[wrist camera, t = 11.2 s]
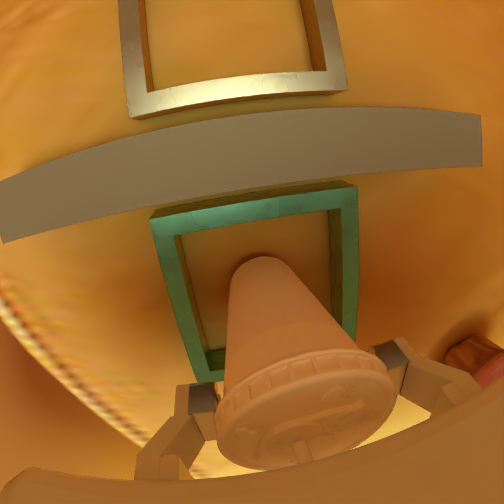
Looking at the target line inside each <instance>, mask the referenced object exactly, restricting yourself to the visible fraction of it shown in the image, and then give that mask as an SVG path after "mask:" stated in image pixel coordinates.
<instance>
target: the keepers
mask: <svg viewBox="0 0 504 504" xmlns="http://www.w3.org/2000/svg"><path fill="white" fill-rule="evenodd" d="M300 3H301V8H302V13H303V18H304V23H305V28H306V33H307V39H308V44H309V50H310V56H311V62H312V68H313V71H309V72H284V73H269V74H257V75H247V76H238V77H230V78H223V79H216V80H209V81H203V82H197V83H191V84H186V85H181V86H176V87H171V88H166V89H162V90H157V91H154V88H153V80H152V72H151V64H150V55H149V46H148V36H147V25H146V13H145V0H118V6H119V25H120V39H121V51H122V62H123V72H124V81H125V89H126V97H127V104H128V111H129V118H132V119H137V120H141V119H146V118H150V117H154V116H158V115H163V114H168V113H172V112H177V111H182V110H187V109H193V108H198V107H204V106H210V105H216V104H223V103H230V102H237V101H245V100H254V99H264V98H274V97H287V96H302V95H327V94H336V93H340V92H343V91H347V90H348V85H347V78H346V72H345V65H344V59H343V54H342V48H341V43H340V37H339V32H338V27H337V23H336V18H335V13H334V9H333V5H332V0H300ZM322 210H328V219H329V238H330V264H331V316H332V317H333V318H334V319H335V321H336V322H337V323H338V324H339V325H340V326H341V328H342V329H343V330H344V331H345V332H346V333H347V334H348V335H349V336H350V338H351V339H352V340H353V341H354V343H355V338H356V324H357V305H358V277H359V220H358V192H357V186H355V185H352V184H350V183H347V182H345V181H334V182H325V183H317V184H309V185H302V186H294V187H287V188H280V189H273V190H266V191H260V192H253V193H247V194H241V195H235V196H228V197H223V198H217V199H211V200H205V201H200V202H194V203H189V204H184V205H178V206H173V207H168V208H163V209H158V210H156V211H155V212H154V213H153V215H152V216H151V218H150V219H149V222H150V226H151V230H152V234H153V238H154V242H155V246H156V250H157V254H158V258H159V262H160V265H161V269H162V273H163V276H164V280H165V283H166V287H167V290H168V294H169V297H170V301H171V304H172V307H173V311H174V314H175V317H176V320H177V324H178V327H179V330H180V333H181V336H182V339H183V342H184V345H185V348H186V351H187V354H188V357H189V360H190V363H191V366H192V368H193V371H194V374H195V377H196V380H197V382H198V383H203V382H212V381H215V382H218V381H224V374H225V357H226V349H224V350H218V351H211V352H209V349H208V345H207V342H206V338H205V335H204V331H203V327H202V324H201V320H200V316H199V312H198V309H197V305H196V301H195V297H194V293H193V289H192V285H191V281H190V277H189V273H188V269H187V265H186V260H185V256H184V252H183V247H182V243H181V238H180V234H183V233H189V232H194V231H200V230H205V229H211V228H217V227H222V226H228V225H234V224H240V223H246V222H252V221H258V220H264V219H270V218H276V217H283V216H289V215H295V214H302V213H309V212H315V211H322Z"/></svg>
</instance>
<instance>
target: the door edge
mask: <svg viewBox="0 0 504 504" xmlns="http://www.w3.org/2000/svg"><path fill="white" fill-rule="evenodd" d="M455 167H482V130H481V116H480V115H475V114H468V113H460V112H451V111H441V110H430V109H416V108H396V107H331V108H310V109H295V110H283V111H272V112H262V113H254V114H245V115H238V116H231V117H224V118H217V119H211V120H205V121H199V122H194V123H189V124H183V125H178V126H173V127H169V128H164V129H159V130H155V131H151V132H146V133H142V134H138V135H134V136H130V137H126V138H122V139H119V140H115V141H111V142H108V143H104V144H101V145H98V146H94V147H91V148H88V149H85V150H81V151H78V152H75V153H72V154H69V155H66V156H63V157H60V158H58V159H55V160H52V161H49V162H46V163H44V164H41V165H38V166H36V167H33V168H31V169H28V170H26V171H23V172H21V173H18V174H16V175H14V176H11V177H9V178H7V179H4V180H2V181H0V235H1V239H2V242H3V244H4V243H7V242H10V241H14V240H17V239H20V238H24V237H27V236H31V235H34V234H38V233H41V232H45V231H49V230H52V229H56V228H60V227H64V226H68V225H72V224H76V223H80V222H84V221H88V220H92V219H96V218H100V217H104V216H109V215H113V214H117V213H122V212H126V211H131V210H135V209H140V208H145V207H149V206H154V205H159V204H164V203H169V202H174V201H179V200H185V199H190V198H195V197H201V196H206V195H212V194H218V193H224V192H230V191H236V190H242V189H248V188H255V187H261V186H268V185H275V184H282V183H289V182H297V181H305V180H313V179H321V178H329V177H338V176H348V175H357V174H368V173H379V172H390V171H403V170H418V169H434V168H455Z"/></svg>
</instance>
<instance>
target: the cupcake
mask: <svg viewBox="0 0 504 504" xmlns="http://www.w3.org/2000/svg"><path fill="white" fill-rule="evenodd" d="M445 364H446V365H447V366H450V367H453V368H456V369H459V370H462V371H465V372H468V373H469V374H470V375H471V376H472V378H473V379H474V380H475V381H476V382H477V383H478V384H479V386H480V387H481V388H482V389H484V388H486V387H487V386H489V385H490V384H492V383H493V382H495V381H496V380H498V379H499V378H501V377H502V376H504V349H502V348H501V347H499V346H497V345H496V344H494V343H493V342H492V341H490V340H489V339H487V338H485V337H484V336H481V335H479V334H475V335H473V336H471V337H469V338H468V339H466V340H465V341H463V342H462V343H460V344H458V345H456V346H454V347H452V348H451V349H450V350H449V351H448V352H447V353H446V355H445Z"/></svg>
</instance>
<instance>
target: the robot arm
mask: <svg viewBox="0 0 504 504" xmlns="http://www.w3.org/2000/svg"><path fill="white" fill-rule="evenodd" d="M368 353H370V354H373V355H376V356H377V357H378V358H379V359H380V360H381V361H382V362H383V363H384V364H385V365H386V367H387V371H388V374H389V376H390V378H391V380H392V381H393V382H394V384H395V386H396V390H397V395H398V394H400V395H401V396H403V397H404V398H406V399H408V400H410V401H411V402H413V403H415V404H417V405H418V406H420V407H422V408H424V409H426V410H427V411H429V412H431V415H430V418H429V419H427V420H425V421H423V422H421V423H419V424H416V425H414V426H412V427H410V428H407V429H405V430H403V431H400V432H398V433H396V434H393V435H391V436H388V437H386V438H383V439H380V440H378V441H375V442H372V443H370V444H367V445H364V446H361V447H358V448H355V449H352V450H349V451H346V452H343V453H339V454H336V455H332V456H329V457H325V458H322V459H318V460H314V461H310V462H306V463H302V464H298V465H293V466H289V467H284V468H279V469H274V470H269V471H263V472H257V473H251V474H244V475H237V476H228V477H219V478H208V479H194V478H193V477H192V475H191V474H190V472H189V471H188V470H189V468H190V467H191V465H192V463H193V462H194V460H195V458H196V457H197V455H198V453H199V452H200V450H201V449H202V447H203V445H204V443H205V441H210V440H217V434H216V431H215V428H214V418H213V416H214V414H215V411H216V409H217V407H218V404H219V402H220V401H221V396H220V395H219V394H218V387H217V384H216V382H215V381H212V382H203V383H193V384H186V385H177V388H176V396H175V409H174V416H172V417H170V418H169V419H168V420H167V421H166V422H165V424H164V425H163V426H162V427H161V428H160V429H159V430H158V432H157V433H156V434H155V435H154V436H153V437H152V438H151V440H150V441H149V442H148V443H147V444H146V445H145V446H144V447H143V449H142V450H141V451H140V452H139V453H138V454H137V459H136V467H135V475H134V480H122V479H121V480H120V479H108V478H98V477H97V478H96V477H89V476H81V475H74V474H68V473H62V472H56V471H51V470H46V469H41V468H37V467H29V468H27V469H25V470H24V471H22V472H21V473H20V474H18V475H17V476H15V477H14V478H13V479H12V480H10V481H9V482H8V483H7V484H6V485H5V486H4V488H3V490H2V491H1V493H0V504H504V376H502V377H501V378H499V379H498V380H496V381H495V382H493V383H492V384H490V385H489V386H487V387H486V388H484V389H482V388H481V387H480V386H479V384H478V383H477V382H476V381H475V380H474V379H473V378H472V376H471V375H470V374H469V373H468V372H465V371H462V370H459V369H456V368H453V367H450V366H447V365H445V364H442V363H439V362H436V361H433V360H431V359H428V358H425V357H423V358H421V357H420V356H419V355H418V354H417V352H416V351H415V350H414V349H413V348H412V347H411V345H410V344H409V343H408V342H407V341H406V340H405V338H404V337H402V336H400V337H397V338H394V339H391V340H388V341H385V342H382V343H379V344H376V345H373V346H370V347H369V349H368Z"/></svg>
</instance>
